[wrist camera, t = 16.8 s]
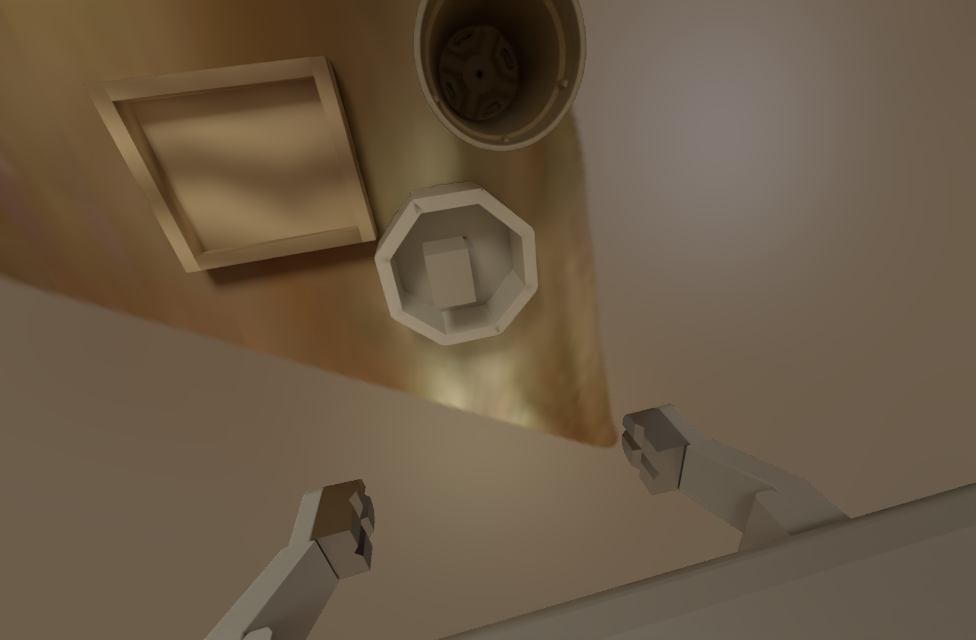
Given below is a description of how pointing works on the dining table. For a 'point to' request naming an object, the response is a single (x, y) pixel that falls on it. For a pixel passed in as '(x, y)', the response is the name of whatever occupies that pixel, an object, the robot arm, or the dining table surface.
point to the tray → (242, 159)
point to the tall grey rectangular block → (473, 267)
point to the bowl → (498, 254)
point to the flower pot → (500, 67)
